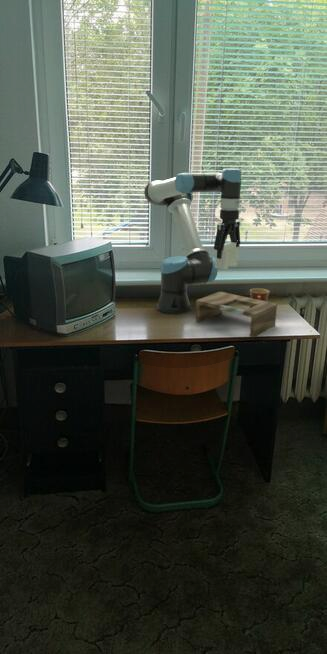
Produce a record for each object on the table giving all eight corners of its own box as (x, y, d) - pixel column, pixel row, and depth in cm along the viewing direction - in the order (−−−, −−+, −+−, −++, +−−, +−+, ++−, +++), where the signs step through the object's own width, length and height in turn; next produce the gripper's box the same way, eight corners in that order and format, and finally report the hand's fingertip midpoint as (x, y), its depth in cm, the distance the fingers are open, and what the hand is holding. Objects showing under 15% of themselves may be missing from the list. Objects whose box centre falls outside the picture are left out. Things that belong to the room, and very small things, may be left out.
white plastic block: (214, 267, 202) (216, 244, 198) (227, 263, 208) (228, 241, 205) (225, 269, 199) (226, 246, 195) (237, 265, 206) (238, 242, 202)
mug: (248, 309, 225) (250, 287, 221) (267, 310, 223) (269, 288, 220) (247, 317, 214) (249, 294, 210) (267, 318, 212) (269, 296, 208)
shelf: (195, 321, 207) (196, 300, 204) (218, 311, 220) (219, 291, 217) (253, 337, 191) (255, 314, 188) (275, 325, 204) (277, 303, 201)
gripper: (222, 212, 185) (219, 270, 193) (251, 207, 201) (247, 261, 209) (206, 210, 189) (203, 267, 197) (235, 206, 206) (232, 258, 213)
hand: (226, 264), depth 203 cm, fingers closed on white plastic block, 9 cm apart
